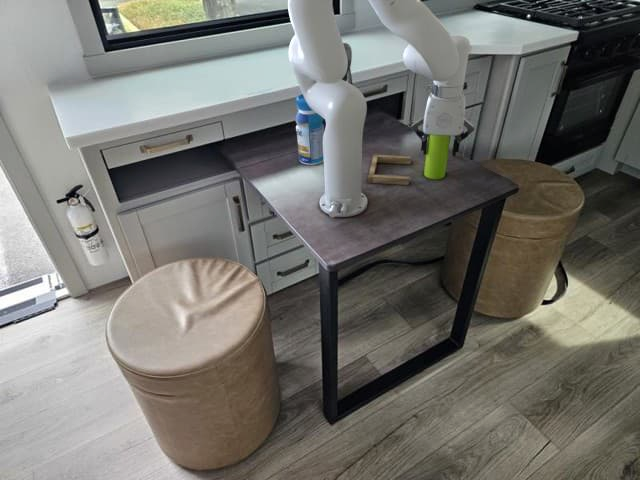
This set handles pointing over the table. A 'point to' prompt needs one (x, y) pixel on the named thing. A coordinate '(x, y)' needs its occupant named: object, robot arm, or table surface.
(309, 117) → the blue labeled canister
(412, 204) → the table surface
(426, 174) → the soap dispenser
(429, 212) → the table surface
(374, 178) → the holder
